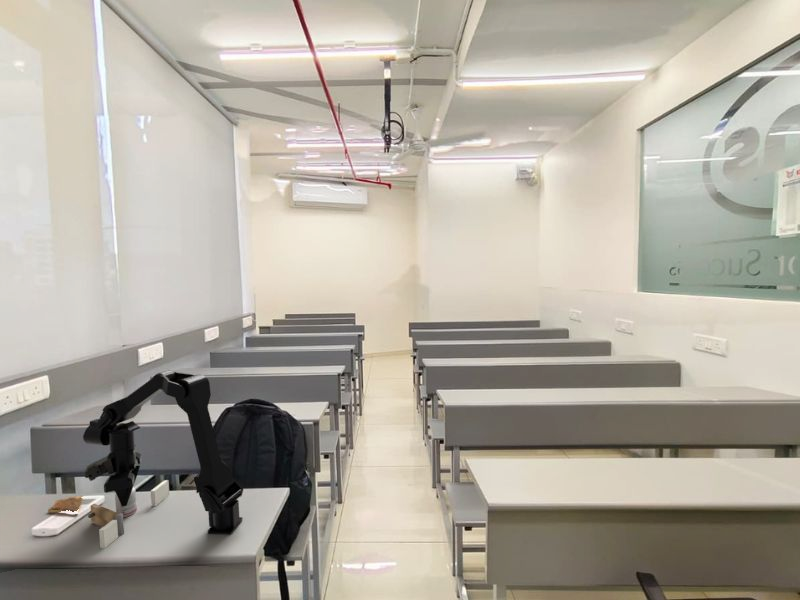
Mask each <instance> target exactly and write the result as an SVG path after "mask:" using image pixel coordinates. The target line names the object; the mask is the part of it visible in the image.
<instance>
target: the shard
mask: <svg viewBox="0 0 800 600" xmlns="http://www.w3.org/2000/svg"><path fill="white" fill-rule="evenodd" d="M81 497H84V496H83V495H82V496H77V495H75V496H71V497H70V496H69V497H66V498H62V499H57V500H55V501H54V503H53V505H52V506H51V507H50V508H48V510H47V512H48V513H49V514H50V513H51V514H52V513H53V514H55V513H58V512H61V511H66V510H68V511H69V510H70V511H72V512H74V511H77V510H78V509H79V510H80V507H81V506H80V505H82V502H83V500H84V499H83V498H81ZM58 514H59V513H58Z"/></svg>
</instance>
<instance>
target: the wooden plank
mask: <svg viewBox="0 0 800 600" xmlns="http://www.w3.org/2000/svg"><path fill="white" fill-rule="evenodd" d="M89 507H90V513H88V515H87V517H88V518H89V519H91V523H93V524H95V525H97V526H99V527H101V528H102V527H104V526H105V525H106V524H108V523H109V522H110V521H112V520H114V516H115V515H116V514H117V512H116V511H114V510H112V509H109V508H106V507H104V506H102V505H99V504H96V503H92V504H90V506H89Z"/></svg>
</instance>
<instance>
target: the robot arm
mask: <svg viewBox="0 0 800 600" xmlns="http://www.w3.org/2000/svg"><path fill="white" fill-rule="evenodd" d="M210 384H211V383H210V381H209V379H208V377H207V376H205V375H203V374H200V373H199V374H198V373H197V374H193V373H188V372H186V373H185V372H178V371H176V370H170V369H169V370H168V369H167V370H166V371H162V372H158V373H156V374H154V375H153V377H152V378H150V379H149V380H148V381H146V382H145V383H144V384H142V385H141V386H139V387H138V388H137V389H135V390H134V391H133V392H131V393H130V394H129V395H127V396H126V397H123V398H121V399H119V400H115V401H114V402H111V403H108V404H106V405H104V407H103V408H102V413H101V415H100V416H99V418H96V419H92V420H89V426H88V427H86V428H85V431H84V433H83V436H82V438H83V441H84V443H85V444H88V445H95V446H105V447H106V446H109V453H108V454H107V456H104V457H102V458H100V459H98V460H96V461H94V462H92V463H90V464H88V465H87V466H86V468H85V469H84V474H85V475H84V478H85V479H88V480H89V482H93V481H94V480H96V479H97V478H99V477H100V476H102V475H106V474H107V475H109V476H108V477H107V479H106V480H105V482H104V484H103V492H104V493H106V494H108V493H113V492H114V493H116V494H117V496H118V499H119V501H120V503H121V505H122V507H123V506H127V503H128V500H129V497H130V494H131V492H132V489H133V487H134V485H135V482H136V480H137V477H138V474H139V470H140V467H141V464H142V461H143V460H142V454H141V453H140V452H138V451H137V452H136V450H137V444H136V442H135V431H136V430H139V429H140V428H141V426H140V425H139V424H137V423H135V422H134V421H133V420H132V419H134V418H135V417H136V416H137V415H138V414H139V413H140V411H142V407H143V406H144V405H145V404H147V403H148V402H149V401H151V400H153V398H155V397H156V396H157V395H159V394H160V393H161V392H163V393H164V394H165V395H166V396H169V397H172V398H175V401H176V404H177V405H178V407H179V408H180V409H181V410H182V411H184V413H186V415H187V418H188V422H189V427H190V429H191V430H190V431H191V434H192V439H193V442H194V445H195V446H194V447H195V450H196V454H197V458H198V463H199V466H200V469H199V473H198V474H196V475H195V476H193V482H194V485H195V488H196V491H195V492H196V494H198V496H199V498H200V500H201V502H202V505H203V508H204V511H205V512H207V513H208V527H210V528H209V529H207V534H219V535H220V534H221V535H222V534H223V535H224V534H225V535H226V534H227V535H228V534H229V535H230V534H232V533H234V531H236V529H237V528H238V526H239V525H240V523H241V522H242V521H243V520H244V519H243V516H242V517H241V516H240V502H239V498H241V497H242V496H243V492H244V488H243V486H241V484H240V483H239V482H238V481H237V480H236V479H235V478H234V476H233V474H232V470H231V469H230V467H229V465H228V464H226V462H224V461H223V460H222V458H221V454H220V451H219V447H218V442H217V439H216V436H215V431H214V426H213V424H212V423H213V422H212V418H211V415H210V412H209V403H210V400H211V395H212V394H211V393H212V392H211V385H210ZM129 420H132V421H129ZM126 421H129V422H126ZM123 422H124V423H123ZM125 422H126V423H125ZM137 464H138V465H137Z"/></svg>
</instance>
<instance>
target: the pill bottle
mask: <svg viewBox="0 0 800 600" xmlns="http://www.w3.org/2000/svg"><path fill="white" fill-rule="evenodd" d="M136 492H137V491H136V488H135V487H134V486H133V489H132V492H131V494H130V497H129V500H128V503H127V506H123V507H122V505H121V503H120V501H119V499H118V496H117V494H116V492H114V494H115V495H114V499H115V512H117V514H118V513H123V518H126V517H129V516H132V515H134V513H136V512H137V509H138V505H137V493H136Z"/></svg>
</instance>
